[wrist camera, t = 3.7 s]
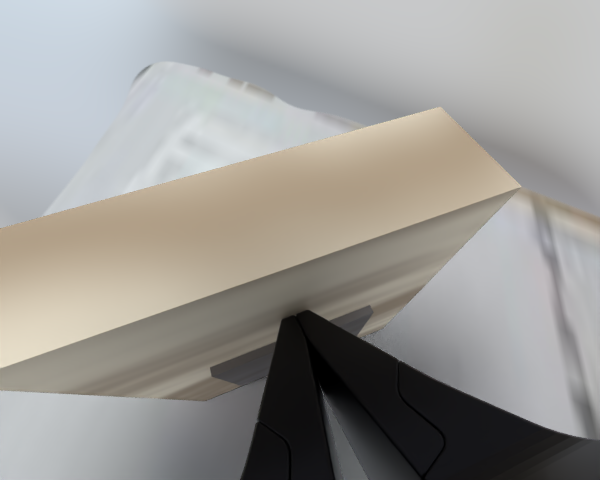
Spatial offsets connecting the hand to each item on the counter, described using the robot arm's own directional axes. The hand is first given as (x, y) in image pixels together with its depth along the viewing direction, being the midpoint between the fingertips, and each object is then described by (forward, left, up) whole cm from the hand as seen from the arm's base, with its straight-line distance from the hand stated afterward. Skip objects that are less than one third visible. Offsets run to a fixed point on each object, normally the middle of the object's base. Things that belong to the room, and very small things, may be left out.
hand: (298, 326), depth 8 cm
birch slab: (+1, 0, -10) cm, 10 cm away
